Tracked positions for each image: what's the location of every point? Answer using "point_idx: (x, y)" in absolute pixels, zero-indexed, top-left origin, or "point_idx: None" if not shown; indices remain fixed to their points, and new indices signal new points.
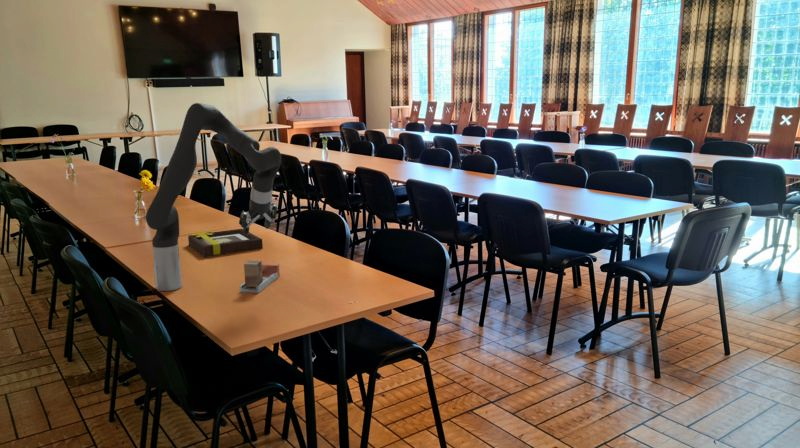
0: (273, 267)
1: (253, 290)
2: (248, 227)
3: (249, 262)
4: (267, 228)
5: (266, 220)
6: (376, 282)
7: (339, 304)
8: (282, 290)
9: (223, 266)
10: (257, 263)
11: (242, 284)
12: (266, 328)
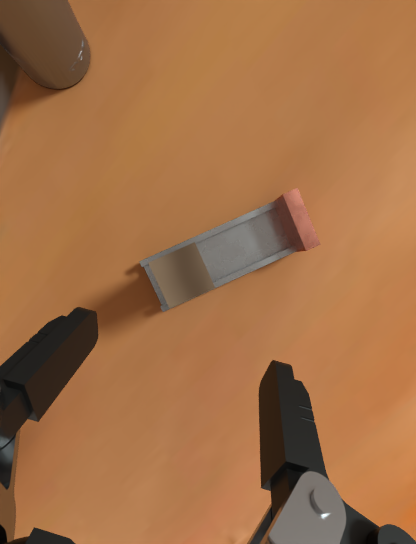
0: (298, 239)
1: (158, 297)
2: (28, 416)
3: (173, 266)
4: (262, 394)
5: (272, 467)
6: (385, 492)
7: (212, 527)
8: (214, 344)
9: (286, 22)
10: (180, 302)
11: (154, 257)
12: None
